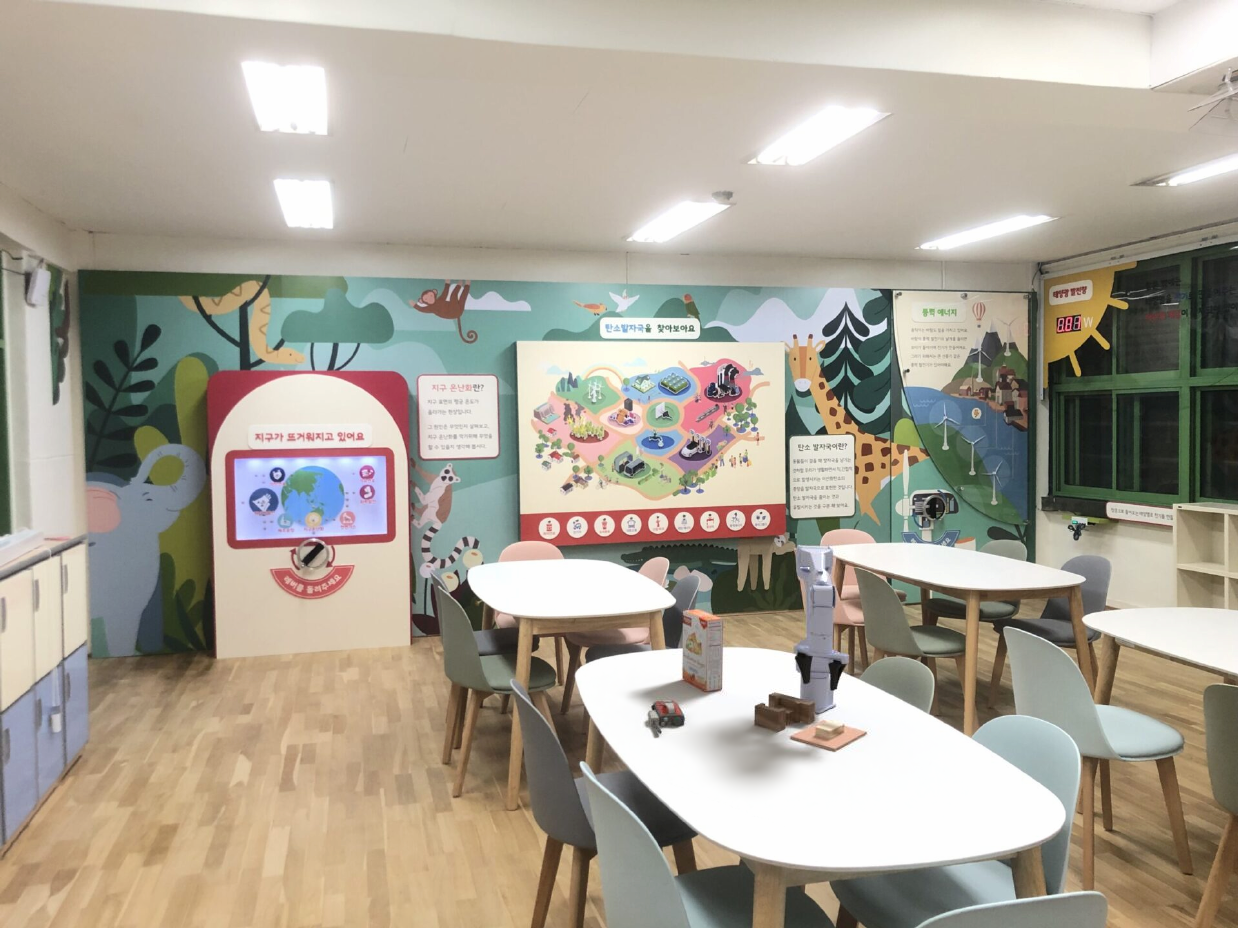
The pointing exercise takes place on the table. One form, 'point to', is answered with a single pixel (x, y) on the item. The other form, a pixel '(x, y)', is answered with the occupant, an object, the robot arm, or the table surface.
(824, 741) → the mat
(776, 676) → the table surface
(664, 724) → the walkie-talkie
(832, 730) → the slab
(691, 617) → the cracker box
